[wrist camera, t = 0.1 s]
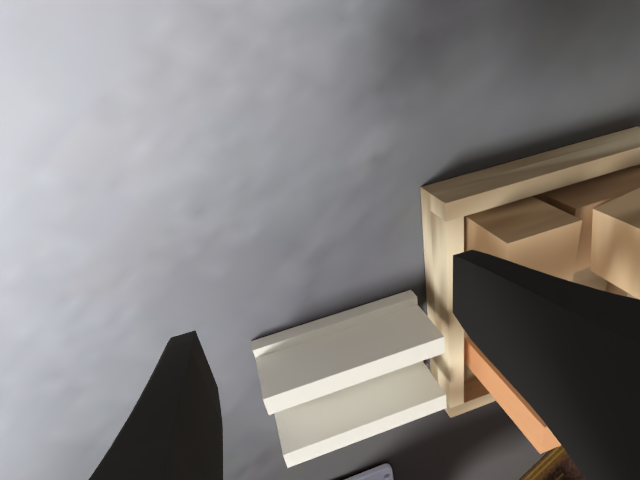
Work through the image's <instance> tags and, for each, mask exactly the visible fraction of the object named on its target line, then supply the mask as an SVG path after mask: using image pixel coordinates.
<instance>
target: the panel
mask: <svg viewBox="0 0 640 480" xmlns="http://www.w3.org/2000/svg"><path fill="white" fill-rule="evenodd" d="M464 362H465V364H466V365H467V366H468V367H469V368H470V370H471V371H472V372H473V373H474V375H475V376H476V377H477V378H478V379H479V381H480V382H481V383H482V384H483V385H484V387H485V388H486V389H487V390H488V391H489V393H490V394H491V395H492V396H493V397H494V399H495V400H496V401H497V402H498V404H499V405H500V406H501V407H502V408H503V410H504V411H505V412H506V413H507V414H508V416H509V417H510V418H511V419H512V420H513V422H514V423H515V424H516V425H517V426H518V428H519V429H520V430H521V431H522V433H523V434H524V435H525V436H526V437H527V439H528V440H529V441H530V442H531V443H532V445H533V446H534V447H535V448H536V449H537V451H538V452H539V453H540V454H542V453H544V452H546V451H549V450H551V449H554V448H556V447H559V446H561V444H560V443H559V441H558V440H557V439H556V437H555V436H554V435H553V433H552V432H551V431H550V429H549V428H548V427H547V425H546V424H545V423H544V421H543V420H542V419H541V418H540V416H539V415H538V414H537V413H536V412H535V410H534V409H533V408H532V407H531V406H530V404H529V403H528V402H527V401H526V400H525V399H524V398H523V397H522V396H521V395H520V393H519V392H518V391H517V390H516V389H515V388H514V387H513V386H512V385H511V384H510V383H509V381H508V380H507V379H506V378H505V377H504V376H503V375H502V374H501V373H500V372H499V371H498V369H497V368H496V367H495V366H494V365H493V364H492V363H491V362H490V361H489V360H488V358H487V357H486V356H485V355H484V354H483V353H482V352H481V351H480V349H479V348H478V347H477V346H476V345H475V344H474V343H473V342H472V340H471V339H470V337H467V338H464Z"/></svg>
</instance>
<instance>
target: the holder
mask: <svg viewBox="0 0 640 480" xmlns="http://www.w3.org/2000/svg"><path fill="white" fill-rule="evenodd" d="M251 343H252V349H253V352H254V355H255V358H256V364H257V369H258V374H259V380H260V385H261V391H262V396H263V401H264V403H265V406H266V409H267V412H268V414H269V415H271V414H273V413H274V414H275V419H276V423H277V428H278V433H279V438H280V443H281V447H282V452H283V456H284V459H285V462H286V465H287V467H288V468H289V467H291V466H294V465H297V464H299V463H302V462H305V461H307V460H310V459H313V458H315V457H318V456H321V455H323V454H326V453H328V452H331V451H334V450H336V449H339V448H342V447H344V446H347V445H350V444H352V443H355V442H358V441H360V440H363V439H366V438H368V437H371V436H374V435H376V434H379V433H382V432H384V431H387V430H390V429H392V428H395V427H397V426H400V425H403V424H405V423H408V422H411V421H413V420H416V419H419V418H421V417H424V416H427V415H429V414H432V413H435V412H437V411H440V410H443V409H445V408H447V405H446V394H445V392H444V391H443V389H442V388H441V387H440V385H439V384H438V382H437V381H436V379H435V378H434V377H433V375H432V374H431V372H430V371H429V369H428V368H427V367H426V365H425V364H424V362H423V360H426V359H429V358H432V357H435V356H438V355H440V354H443V353H445V341H444V336H443V334H442V333H441V332H440V331H439V330H438V328H437V327H436V326H435V325H434V324H433V322H432V321H431V320H430V319H429V318H428V316H427V315H426V314H425V313H424V312H423V310H422V309H421V308H420V307H419V306H418V300H417V296H416V295H415V294H414V292H413V291H412V290H408V291H405V292H402V293H399V294H396V295H393V296H390V297H387V298H383V299H380V300H377V301H374V302H371V303H368V304H365V305H362V306H359V307H356V308H352V309H349V310H346V311H343V312H340V313H337V314H334V315H331V316H328V317H324V318H321V319H318V320H315V321H312V322H309V323H306V324H303V325H300V326H297V327H293V328H290V329H287V330H284V331H281V332H278V333H275V334H272V335H269V336H266V337H262V338H259V339H256V340H253V341H251Z"/></svg>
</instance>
